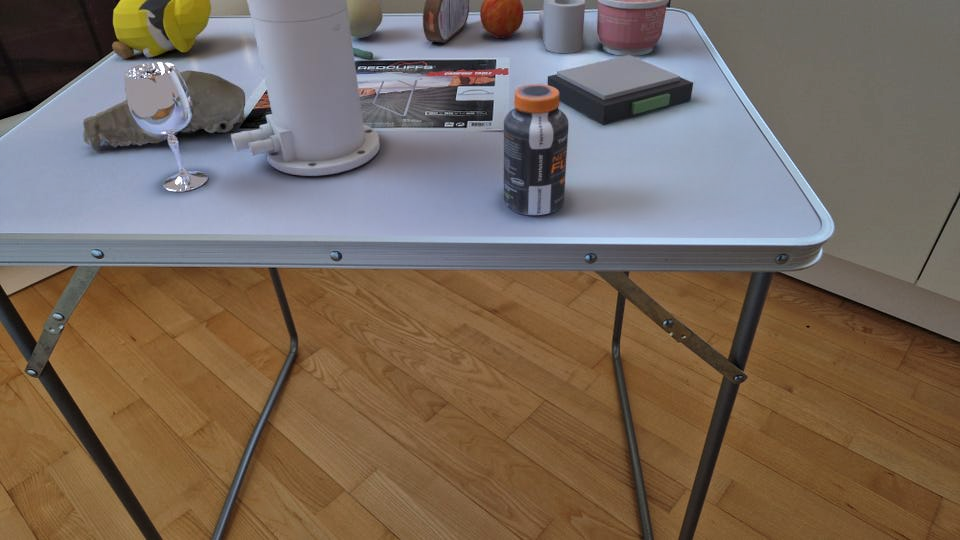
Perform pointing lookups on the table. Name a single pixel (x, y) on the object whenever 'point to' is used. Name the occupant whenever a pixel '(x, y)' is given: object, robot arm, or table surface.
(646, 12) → the container
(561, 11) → the grey hollow cylinder
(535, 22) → the table surface
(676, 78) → the scale
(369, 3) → the potato
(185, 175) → the wineglass
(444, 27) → the tin
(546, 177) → the pill bottle
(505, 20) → the fruit
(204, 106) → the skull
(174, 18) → the toy
